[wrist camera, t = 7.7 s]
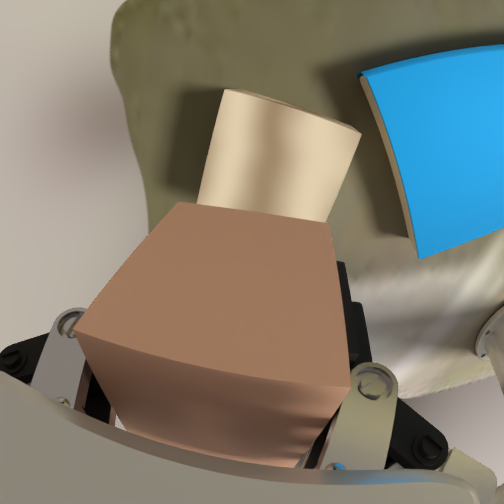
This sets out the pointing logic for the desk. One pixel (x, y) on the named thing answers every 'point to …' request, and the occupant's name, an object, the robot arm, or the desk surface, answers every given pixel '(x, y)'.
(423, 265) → the desk surface
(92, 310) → the block
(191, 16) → the desk surface
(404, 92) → the book
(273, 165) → the base
